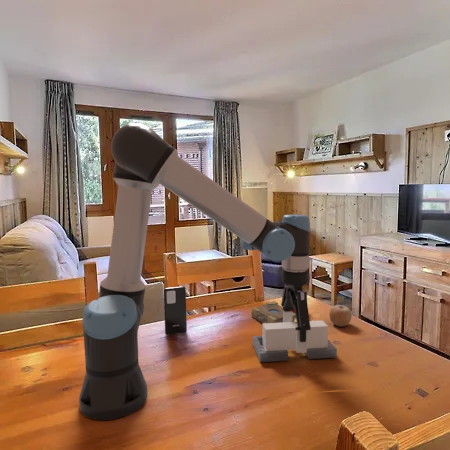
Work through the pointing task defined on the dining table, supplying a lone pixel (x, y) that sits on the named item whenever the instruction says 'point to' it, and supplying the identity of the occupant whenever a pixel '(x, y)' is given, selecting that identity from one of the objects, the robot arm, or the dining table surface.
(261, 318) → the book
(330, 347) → the keyhole plates
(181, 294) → the smartphone
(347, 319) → the fruit
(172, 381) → the dining table surface
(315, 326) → the bar
